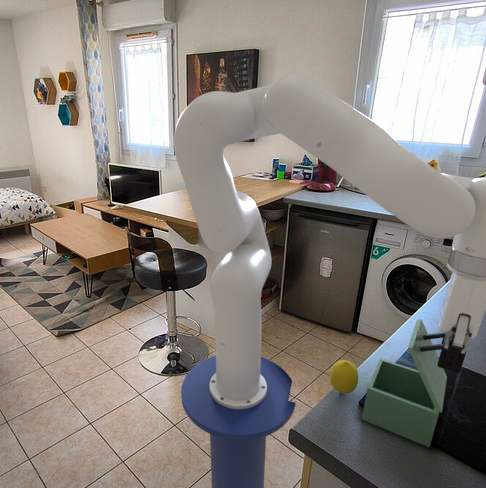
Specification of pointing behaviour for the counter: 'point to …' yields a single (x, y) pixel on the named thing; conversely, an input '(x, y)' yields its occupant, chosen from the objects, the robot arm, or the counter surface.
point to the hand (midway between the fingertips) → (449, 358)
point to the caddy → (400, 402)
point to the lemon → (344, 376)
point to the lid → (429, 362)
